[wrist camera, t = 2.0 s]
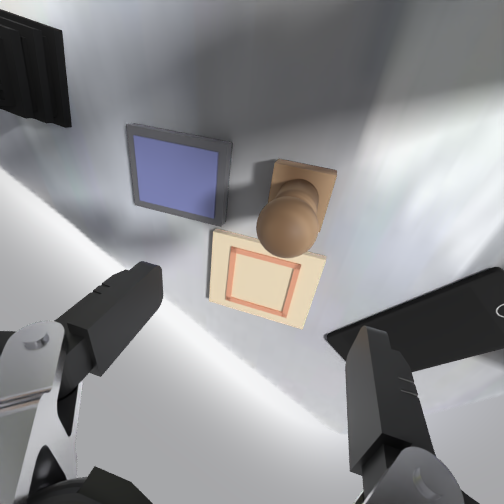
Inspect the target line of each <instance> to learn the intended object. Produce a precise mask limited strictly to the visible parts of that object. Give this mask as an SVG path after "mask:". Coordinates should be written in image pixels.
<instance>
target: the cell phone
mask: <svg viewBox="0 0 504 504" xmlns="http://www.w3.org/2000/svg"><path fill="white" fill-rule="evenodd" d="M363 326H367V327H371V328H374V329H378V330H381V331H385V332H386V333H387V334H388V337H389V341H390V346H391V349H393V350H396V351H400V353H401V354H402V356H403V357H404V359H405V360H406V362H407V363H408V364H409V366H410V369H411V372H415V371H418V370H422V369H426V368H430V367H434V366H438V365H441V364H445V363H449V362H453V361H457V360H461V359H464V358H468V357H472V356H476V355H480V354H484V353H488V352H491V351H495V350H499V349H503V348H504V270H503V269H501V268H500V267H494V268H491V269H489V270H486V271H484V272H481V273H479V274H476V275H474V276H471V277H469V278H466V279H464V280H461V281H459V282H456V283H454V284H452V285H449V286H447V287H444V288H442V289H439V290H437V291H434V292H432V293H429V294H427V295H424V296H422V297H419V298H417V299H414V300H412V301H409V302H407V303H404V304H402V305H399V306H397V307H394V308H392V309H389V310H387V311H384V312H382V313H379V314H377V315H374V316H372V317H369V318H367V319H364V320H362V321H360V322H357V323H355V324H352V325H350V326H347V327H345V328H342V329H340V330H337V331H335V332H332V333H330V334H328V335H327V340H328V342H329V343H330V344H331V345H332V346H333V348H334V349H335V350H336V351H337V352H338V353H339V354H340V355H341V356H342V357H343V358H344V359H345V360H346V359H347V356H348V353H349V351H350V349H351V347H352V345H353V343H354V341H355V339H356V337H357V335H358V333H359V331H360V329H361V328H362V327H363Z"/></svg>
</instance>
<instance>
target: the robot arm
mask: <svg viewBox="0 0 504 504" xmlns="http://www.w3.org/2000/svg"><path fill="white" fill-rule="evenodd" d="M162 299H163V282H162V269H161V267H160V266H158V265H154V264H151V263H147V262H144V261H141V262H139V263H138V264H136V265H135V266H134V267H133V268H132V269H130V270H124V271H121V272H119V273H117V274H114V275H112V276H111V277H110V278H109V279H107V280H106V281H105V282H103V283H102V285H101V286H98V287H97V288H96V289H94V290H93V292H92V293H89V294H88V295H87V296H86V297H84V298H83V299H82V300H80V301H79V302H78V303H77V304H75V305H74V306H73V307H72V308H70V309H69V310H68V311H67V312H65V313H64V314H63V315H61V316H60V317H59V318H58V319H56V320H55V321H40V322H36V323H32V324H30V325H27V326H25V327H23V328H21V329H20V330H18V331H17V332H13V331H0V504H152V502H150V500H148V498H147V497H146V496H145V495H144V494H143V493H142V492H141V491H139V490H138V489H137V488H136V487H135V486H134V485H133V484H132V483H131V482H130V481H127V480H125V479H123V478H121V477H118V476H116V475H114V474H111V473H109V472H107V471H105V470H102V469H100V468H97V467H94V468H93V470H92V471H91V473H90V474H89V476H88V477H83V478H76V475H77V455H76V433H77V425H78V418H79V410H80V402H81V394H82V386H83V382H82V380H83V379H84V378H85V376H86V375H87V374H88V373H92V374H94V375H97V376H100V377H101V376H102V374H104V372H105V371H106V370H107V369H108V368H109V366H110V365H111V364H112V363H113V362H114V360H115V359H116V358H117V357H118V356H119V355H120V353H121V352H122V351H123V350H124V349H125V348H126V346H127V345H128V344H129V343H130V341H131V340H132V339H133V338H134V337H135V336H136V334H137V333H138V332H139V331H140V330H141V329H142V327H143V326H144V325H145V324H146V323H147V321H148V320H149V319H150V318H151V317H152V316H153V314H154V313H155V312H156V311H157V310H158V308H159V307H160V305H161V302H162ZM345 372H346V394H347V417H348V438H349V439H348V440H349V463H350V472H353V473H356V474H358V475H361V476H363V489H364V490H363V491H362V492H361V493H360V494H359V496H358V497H357V499H356V500H355V502H354V503H353V504H479V503H478V502H476V501H475V500H474V499H472V498H471V497H469V496H468V495H467V494H465V493H464V492H463V491H462V490H461V489H460V487H459V484H458V483H457V481H456V479H455V477H454V476H453V475H452V473H451V472H450V471H449V469H448V468H447V467H446V466H445V465H444V464H443V463H442V462H441V460H439V459H438V458H437V457H436V455H435V452H434V449H433V446H432V442H431V439H430V435H429V432H428V428H427V425H426V421H425V418H424V414H423V411H422V407H421V404H420V400H419V398H418V397H417V395H418V393H417V390H416V386H415V385H414V379H413V376H412V372H411V369H410V366H409V364H408V363H407V362H406V360H405V359H404V357H403V356H402V354H401V353H400V351H396V350H393V349H391V346H390V341H389V337H388V334H387V333H386V332H385V331H381V330H378V329H374V328H371V327H367V326H363V327H362V328H361V329H360V331H359V333H358V335H357V337H356V339H355V341H354V343H353V345H352V347H351V349H350V351H349V353H348V356H347V359H346V367H345Z"/></svg>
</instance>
